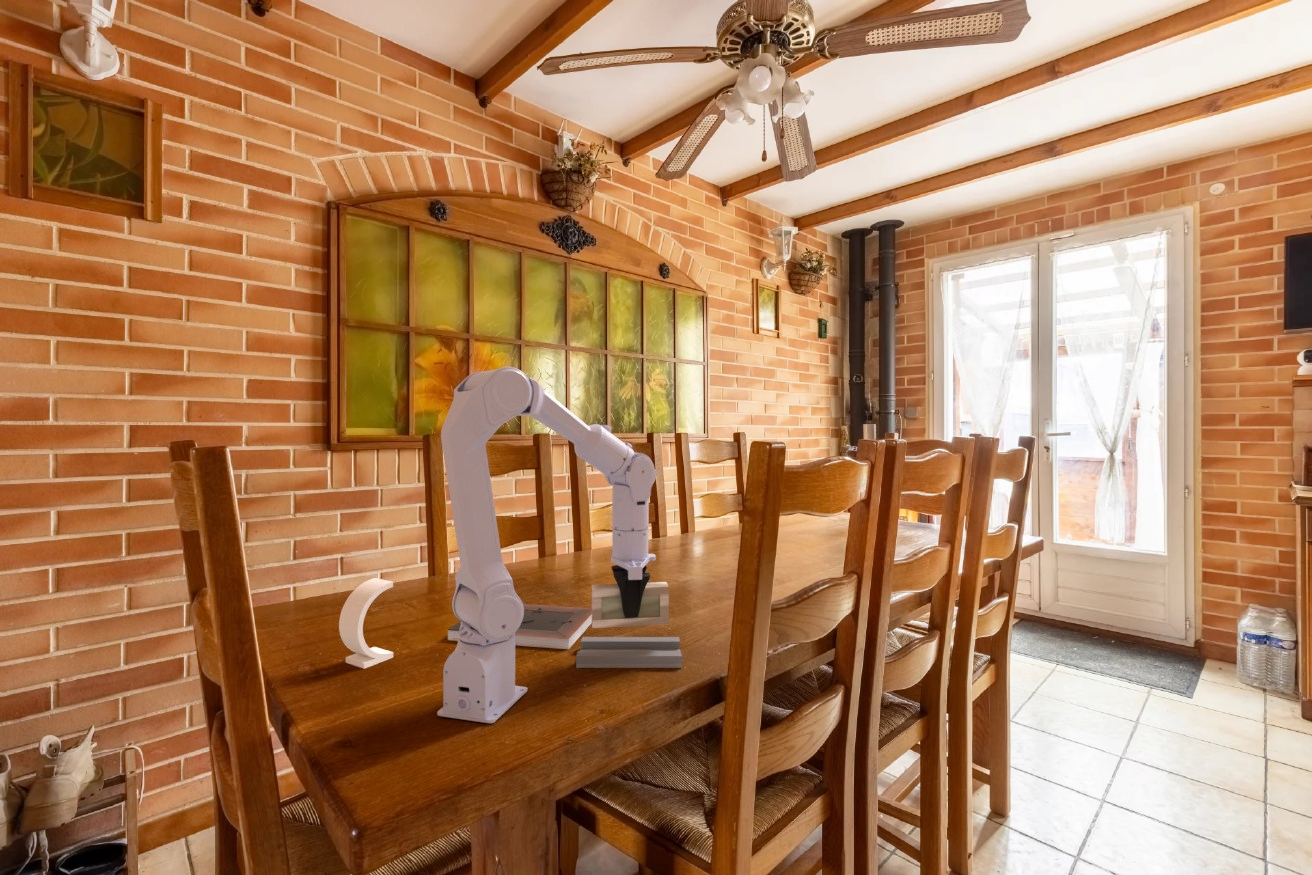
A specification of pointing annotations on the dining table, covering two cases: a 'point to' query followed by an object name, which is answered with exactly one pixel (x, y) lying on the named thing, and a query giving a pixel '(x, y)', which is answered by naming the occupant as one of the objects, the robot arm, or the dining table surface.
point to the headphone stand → (354, 620)
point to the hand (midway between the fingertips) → (630, 613)
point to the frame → (611, 611)
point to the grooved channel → (629, 652)
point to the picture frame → (546, 626)
